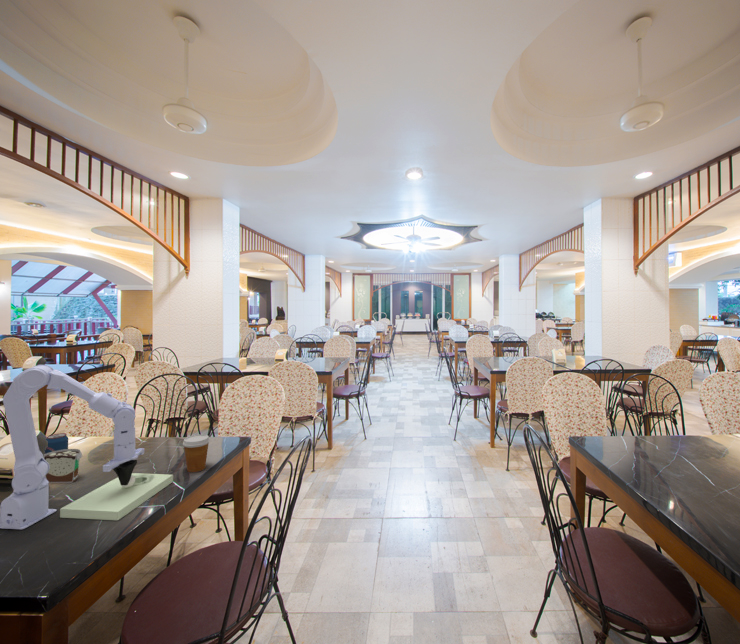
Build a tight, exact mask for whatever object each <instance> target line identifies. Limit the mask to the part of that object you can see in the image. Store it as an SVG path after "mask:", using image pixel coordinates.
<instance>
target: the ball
mask: <svg viewBox="0 0 740 644" xmlns="http://www.w3.org/2000/svg"><path fill="white" fill-rule="evenodd" d="M134 483H135V477H134V476H133V475H131V478H130V481H129V483H128V485H121V486H122V487H123V488H129V487H131V486H132V485H133V484H134Z"/></svg>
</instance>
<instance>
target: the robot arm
mask: <svg viewBox="0 0 740 644" xmlns="http://www.w3.org/2000/svg"><path fill="white" fill-rule="evenodd" d="M46 385H47V386H46ZM45 386H46V390H59V389H60V390H63V391H66V392H67V393H69V394H71V395H73V396H75V397H77V398H79V399H81V400H83V401H85V402H87V403H88V408H89V409H90V410H93V411H95V412H96V413H98V414H100V415H102V416H104V417H106V418H107V419H112V423H113V424H114V430H113V457H112V459H110V460H109V461H108V462H106V463H105V464H103V465H102V472H104V473H109V472H111V471H112V470H113V472H114V473H115V474H116V476H117V477H118V478H119V481H120V484H121V485H128V483H129V481H130V478H131V475H132V473H134V472H133V471H134V469H135V467H136V465H137V464H138V460H137V459H138V458H139V456H140V455H141V456H143V455H144V454H145V447H144V448H143V447H141V448H140V447H139V448H137V449H136V426H135V425H136V424H135V423H136V422H135V420H136V410H135V408H134V407H133V406H132V404H129V403H127V402H126V401H121V400H119V399H117V398H115V397H113V394H112V393H111V392H107V393H106V392H105V391H101V392H96V391H94V390H92V389H91V388H89V387H88V386H86V385H84V384H83V383H81V382H79V381H77V380H76V379H75V378H73V377H71V376H70V375H68V374H66V373H65V372H62V371H60V370H59V369H54V368H53V367H52V366H50V365H47V364H37V365H33V366H31V367H30V368H26V369H24V370H23V371H21V372H20V373H18V374H17V376H15V377H14V378H13V380H12V383H11V384H10V385H9V387H8V389H7V390H6V392H5V394H4V396H3V397H2V403H3V407H4V412H5V416H6V422H7V427H8V432H9V435H10V440H11V444H12V449H13V455H14V458H15V459H14V460H15V461H14V465H13V466H14V467H13V473H14V476H13V477H12V480H11V487H12V490H13V492H12V493H11V494H10V495H9V496H8V497H5V498H4V499H3V500H2V501H1V503H0V529H7V530H8V529H9V530H25V529H26V528H28V527H30V526H32V525H34V524H35V523H37V522H39V521H41V520H43V519H45V518H47V517H49V516H50V515H52V514H54V513H55V512H57V509H55V508H49V490H50V489H49V488H50V487H49V485H50V483H49V481H48V480H47V479H46V478H45V475H46V474H47V473H48V472H49V469H50V466H49V463H48V462H47V461H46V460H45V459H44V458H43V455H44V454H43V453H42V451H41V450H40V447H39V443H38V437H37V432H36V428H35V422H34V417H33V413H32V409H31V404H30V399H31V398H32V397H33V395H35V394H36V393H37V392H38V391H39V390H40V389H42V388H44V387H45Z"/></svg>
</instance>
